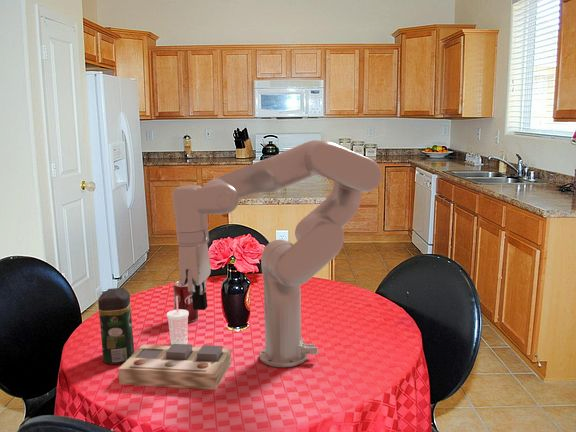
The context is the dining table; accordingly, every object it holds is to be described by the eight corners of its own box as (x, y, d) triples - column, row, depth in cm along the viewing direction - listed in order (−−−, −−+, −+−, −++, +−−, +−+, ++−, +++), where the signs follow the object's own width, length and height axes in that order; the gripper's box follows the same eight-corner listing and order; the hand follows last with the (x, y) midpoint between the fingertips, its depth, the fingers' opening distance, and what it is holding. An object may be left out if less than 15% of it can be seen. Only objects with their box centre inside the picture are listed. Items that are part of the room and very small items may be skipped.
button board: (231, 363, 138) (230, 347, 137) (216, 389, 124) (215, 372, 123) (143, 358, 141) (142, 342, 141) (119, 384, 128) (118, 366, 127)
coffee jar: (106, 351, 146) (101, 286, 143) (135, 348, 148) (131, 284, 144) (100, 366, 137) (94, 298, 134) (132, 364, 138) (127, 295, 135)
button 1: (163, 360, 138) (162, 350, 137) (155, 369, 133) (154, 359, 132) (144, 359, 138) (144, 349, 138) (136, 368, 134) (135, 358, 133)
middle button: (192, 354, 136) (191, 344, 136) (185, 363, 131) (185, 352, 131) (173, 353, 137) (173, 343, 136) (166, 362, 132) (165, 351, 132)
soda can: (200, 315, 172) (199, 280, 170) (194, 324, 165) (193, 287, 163) (179, 315, 173) (177, 279, 171) (172, 323, 166) (170, 286, 164)
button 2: (222, 356, 135) (222, 346, 135) (217, 365, 130) (216, 354, 130) (203, 355, 136) (203, 345, 135) (197, 364, 131) (196, 353, 130)
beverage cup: (194, 341, 152) (192, 294, 150) (180, 349, 147) (177, 300, 145) (178, 337, 155) (176, 291, 153) (163, 344, 150) (160, 297, 148)
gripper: (189, 230, 136) (196, 298, 139) (166, 244, 121) (174, 320, 125) (217, 229, 135) (223, 298, 138) (197, 244, 120) (205, 320, 124)
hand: (200, 308), depth 131 cm, fingers closed
